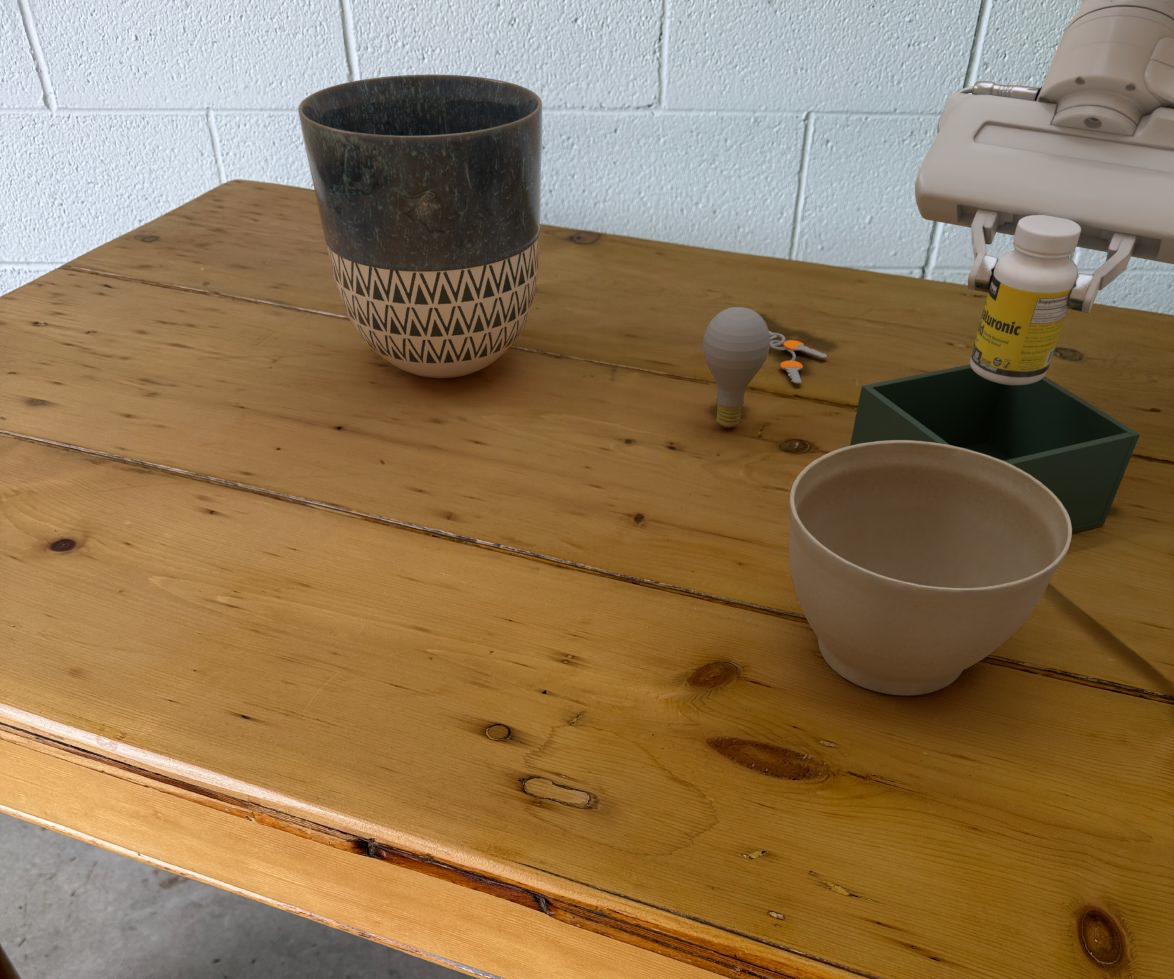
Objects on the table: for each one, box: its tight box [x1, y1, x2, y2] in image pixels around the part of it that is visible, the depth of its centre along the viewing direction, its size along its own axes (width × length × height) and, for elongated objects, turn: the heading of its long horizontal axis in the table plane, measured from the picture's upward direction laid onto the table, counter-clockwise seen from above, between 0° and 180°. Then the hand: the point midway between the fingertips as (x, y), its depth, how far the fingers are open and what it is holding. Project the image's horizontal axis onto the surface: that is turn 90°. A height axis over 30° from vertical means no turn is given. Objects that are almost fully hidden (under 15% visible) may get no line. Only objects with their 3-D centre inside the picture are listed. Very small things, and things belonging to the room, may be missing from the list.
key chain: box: [769, 330, 828, 385], centre depth 101 cm, size 13×7×1 cm, turn 36°
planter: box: [297, 73, 543, 379], centre depth 92 cm, size 20×20×21 cm
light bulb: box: [702, 306, 771, 429], centre depth 88 cm, size 6×6×10 cm
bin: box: [849, 363, 1141, 535], centre depth 80 cm, size 14×14×8 cm
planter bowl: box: [788, 440, 1073, 696], centre depth 65 cm, size 16×16×11 cm
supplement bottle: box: [969, 215, 1081, 385], centre depth 72 cm, size 5×5×10 cm
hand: (1028, 297), depth 71 cm, fingers closed on supplement bottle, 5 cm apart
